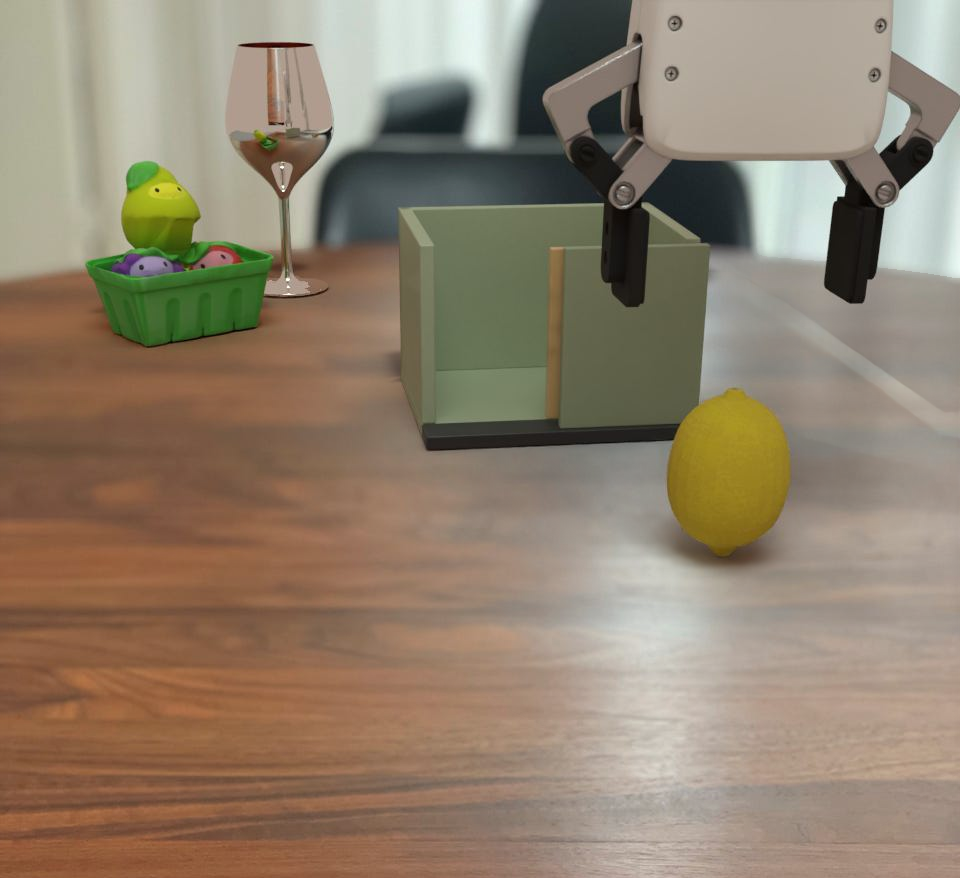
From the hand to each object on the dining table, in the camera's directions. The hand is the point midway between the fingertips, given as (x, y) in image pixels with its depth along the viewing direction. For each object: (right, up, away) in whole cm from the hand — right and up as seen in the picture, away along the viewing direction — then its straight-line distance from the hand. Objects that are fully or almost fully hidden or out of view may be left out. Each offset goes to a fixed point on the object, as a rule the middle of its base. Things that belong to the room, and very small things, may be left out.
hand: (736, 298), depth 64 cm
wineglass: (-26, +13, +55) cm, 62 cm away
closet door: (-3, -2, +21) cm, 22 cm away
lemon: (0, -11, +6) cm, 12 cm away
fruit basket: (-32, +7, +43) cm, 54 cm away
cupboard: (-7, -1, +26) cm, 27 cm away
